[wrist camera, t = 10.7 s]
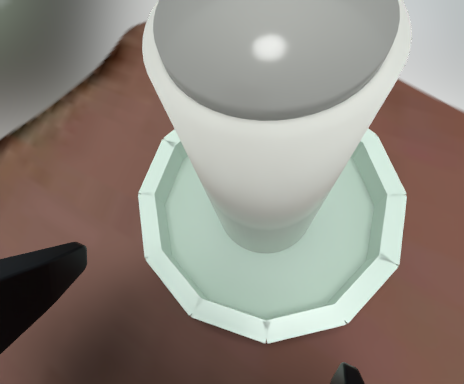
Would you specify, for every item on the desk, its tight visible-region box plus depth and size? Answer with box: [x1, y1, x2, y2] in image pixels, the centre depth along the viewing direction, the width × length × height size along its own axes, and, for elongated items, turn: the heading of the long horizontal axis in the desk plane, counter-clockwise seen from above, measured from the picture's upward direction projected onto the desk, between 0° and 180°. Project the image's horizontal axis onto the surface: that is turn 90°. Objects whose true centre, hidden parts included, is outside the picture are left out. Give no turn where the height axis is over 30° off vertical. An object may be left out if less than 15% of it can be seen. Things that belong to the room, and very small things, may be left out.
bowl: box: [138, 129, 407, 343], centre depth 18 cm, size 15×15×3 cm
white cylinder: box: [142, 0, 412, 253], centre depth 12 cm, size 6×6×13 cm
